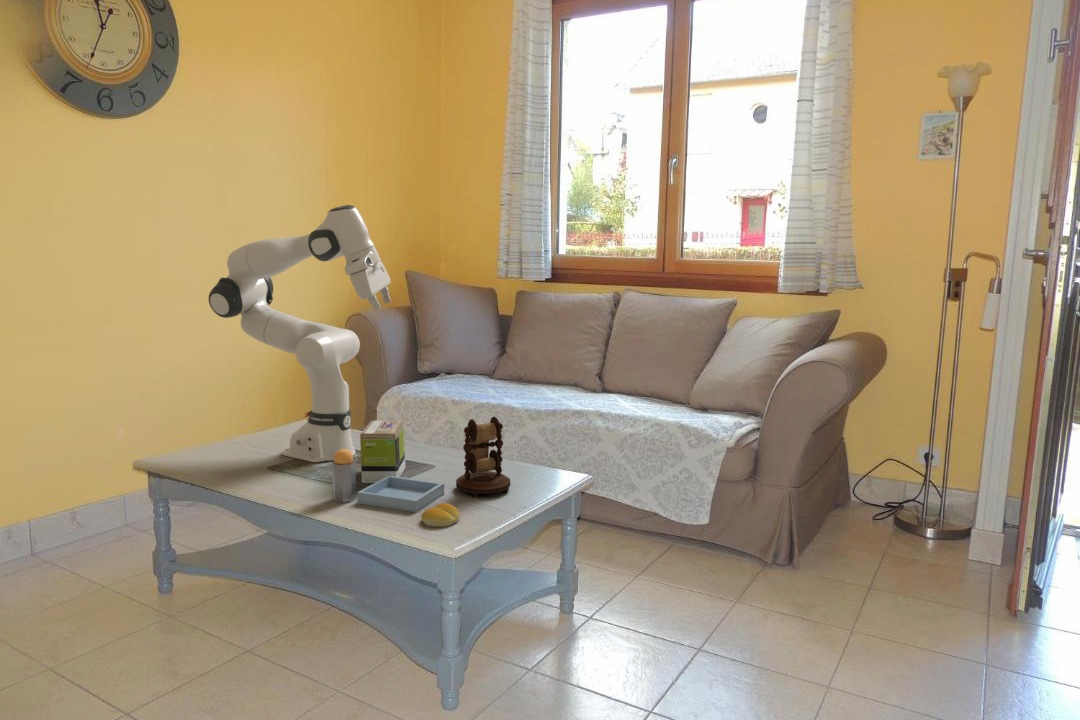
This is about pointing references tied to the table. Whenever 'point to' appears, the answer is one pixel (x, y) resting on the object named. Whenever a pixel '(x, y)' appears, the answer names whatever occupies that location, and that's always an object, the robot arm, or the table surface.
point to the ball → (343, 457)
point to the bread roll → (441, 515)
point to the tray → (401, 493)
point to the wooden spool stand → (483, 459)
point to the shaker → (344, 482)
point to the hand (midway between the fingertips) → (383, 306)
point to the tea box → (382, 450)
